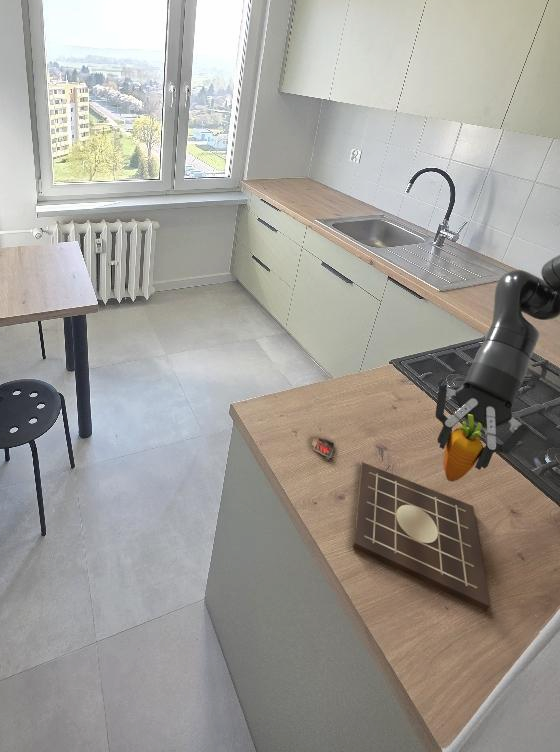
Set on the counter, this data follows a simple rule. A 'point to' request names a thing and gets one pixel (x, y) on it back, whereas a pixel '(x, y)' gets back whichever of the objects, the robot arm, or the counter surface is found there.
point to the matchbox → (323, 447)
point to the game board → (420, 534)
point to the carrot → (462, 450)
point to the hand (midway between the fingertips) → (459, 457)
